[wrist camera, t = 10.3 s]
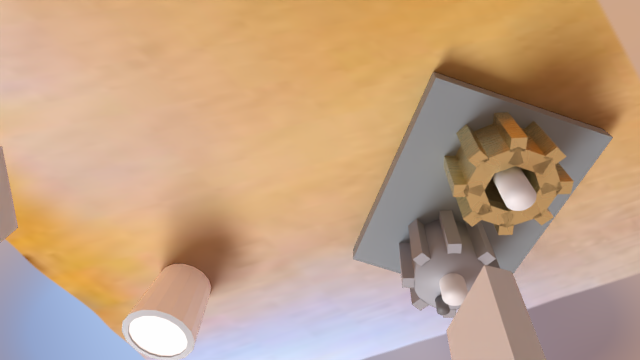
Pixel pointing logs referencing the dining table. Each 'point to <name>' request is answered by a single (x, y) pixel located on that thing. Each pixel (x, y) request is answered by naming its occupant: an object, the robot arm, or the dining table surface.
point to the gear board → (442, 208)
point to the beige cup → (169, 313)
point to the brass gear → (500, 154)
